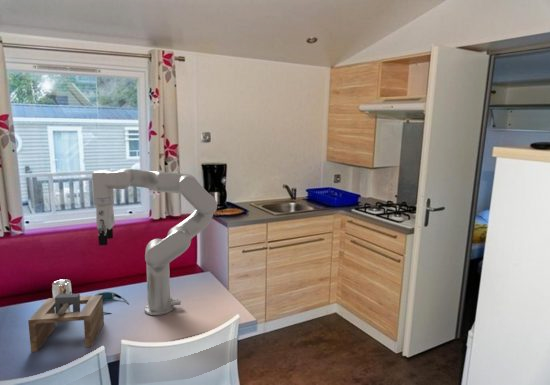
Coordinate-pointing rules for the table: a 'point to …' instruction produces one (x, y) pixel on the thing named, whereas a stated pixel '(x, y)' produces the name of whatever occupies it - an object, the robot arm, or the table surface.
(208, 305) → the table surface
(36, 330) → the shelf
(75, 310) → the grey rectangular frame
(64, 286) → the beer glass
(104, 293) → the sunglasses
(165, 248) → the robot arm
